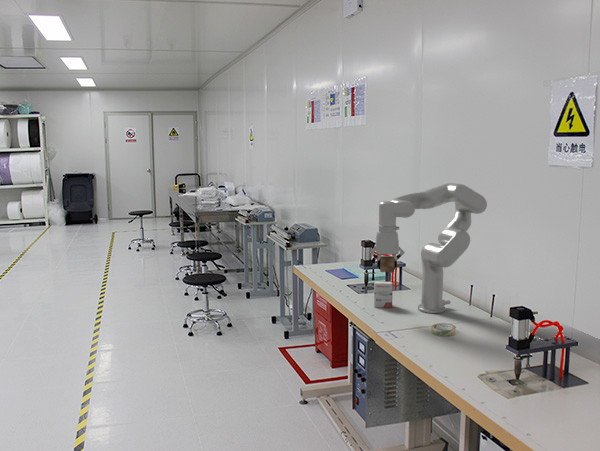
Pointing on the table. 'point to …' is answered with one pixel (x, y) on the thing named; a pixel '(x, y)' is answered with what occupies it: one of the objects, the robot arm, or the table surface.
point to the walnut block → (386, 264)
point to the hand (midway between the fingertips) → (386, 268)
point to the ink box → (383, 294)
